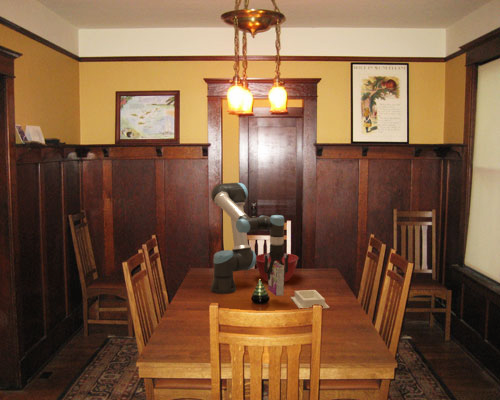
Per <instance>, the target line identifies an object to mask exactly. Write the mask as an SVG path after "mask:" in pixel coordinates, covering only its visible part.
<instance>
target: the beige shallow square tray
mask: <svg viewBox="0 0 500 400" xmlns="http://www.w3.org/2000/svg"><path fill="white" fill-rule="evenodd" d="M290 299H291V301H292V302H293V303H294V304H295V305H296V306H297V308H298V309H299V310H300V308H309V307H312V305H314V304H319V305H322V306H323V308H322V309H330V306H329V305H328V304H327V303H326V299H325V298H324V296H322V295H321V294H320V293H319V292H318V291H317V290H316V289H308V290H305V289H304V290H294V296H290Z"/></svg>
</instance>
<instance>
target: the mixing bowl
mask: <svg viewBox="0 0 500 400" xmlns="http://www.w3.org/2000/svg"><path fill="white" fill-rule="evenodd" d="M267 254H269V252H267V253H261V254H260V253H259V254H257V255H256V263H255V266H256V267H257V270H258V272H259V275H260V276H261V278H262V279H263V280H264V281H265V282H266V283H268V278H267V273H265V272H264V266H265V257H264V255H267ZM284 254H288V255H289V258H288V272H286V273H285V279H284V284H285V283H287V281H289V280H290V279H291V278H292V277H293V275H294V272H295V270H296V269H297V266H298V265H297V264H298V260H299V256H297V255H296V254H292V253H286V252H285V253H284ZM269 262H271V257H270V256H269V258H268V268H269ZM277 262H278V263H279V261H277ZM282 263H283V266H284V270H285V257H284V256H283V257H282ZM268 268H267V271H268Z"/></svg>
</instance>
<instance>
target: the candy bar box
mask: <svg viewBox="0 0 500 400" xmlns="http://www.w3.org/2000/svg"><path fill="white" fill-rule="evenodd" d="M269 265H270V262H269ZM271 274H272V284H271V286H270V285H269V280H268V282H267V283H268V287H267V290H268V292H270V293H272V294H273V295H274V296H276V297H281V296H284V293H285V291H284V290H285V283H284V266H283V265H281V264H280V263H278V262H277V261H274V264H273V267H272V270H271Z"/></svg>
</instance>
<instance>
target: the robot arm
mask: <svg viewBox="0 0 500 400" xmlns="http://www.w3.org/2000/svg"><path fill="white" fill-rule="evenodd" d="M248 196H249V192H248V189H247V186H246V185H245V184H244V183H242V182H227V183H226V182H225V183H218V184H216V185H214V187H213V188H212V190H211V193H210V198H211V201H212V202H213V204H214V205H216V206H217V207H220V208H221V209H222V211H224V212H225V213H226V214H227V216H229V218H230V223H231V233H232V238H233V239H232V240H233V248H232V249H231V250H230V249H226V250H220V251H217V252H215V253H214V255H213V260H212V261H213V279H212V282H211V286H210V291H211V292H212V293H215V294H221V295H222V294H223V295H224V294H227V295H228V294H232V293H235V292H236V291H237V286H236V283H235V279H234V273H235V272H241V271H248V270H251V269H254V267H255V266H256V256H257V255H256V252H255V250H253V249H252V246H251V245H249V243H248V241H249V240H248V235H247V233H253V232H261V231H263V232H264V231H268V232H269V243H270V245H269V252H268V253H269V254H267V255H264V257H265V266H264V272H265V273H267V278H268V280H269V285H270V286H271V284H272V274H271V270H272V267H273V264H274V261H279V263H280V264H281V265H283V263H282V257H283V256H284V257H285V270H284V279H285V273H286V272H288V258H289V255H288V254H289V253H287V254H284V252H285V251H284V247H285V245H284V241H285V217H284V215H279V214H274V215H271V216H267V215H260V216H259V217H258V216H257V217H249V215H247V213H245V210H244V206H245V204H246V201H247V199H248ZM269 256H270V257H271V262H270V265H269V268H268V258H269ZM267 268H268V271H267Z"/></svg>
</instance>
